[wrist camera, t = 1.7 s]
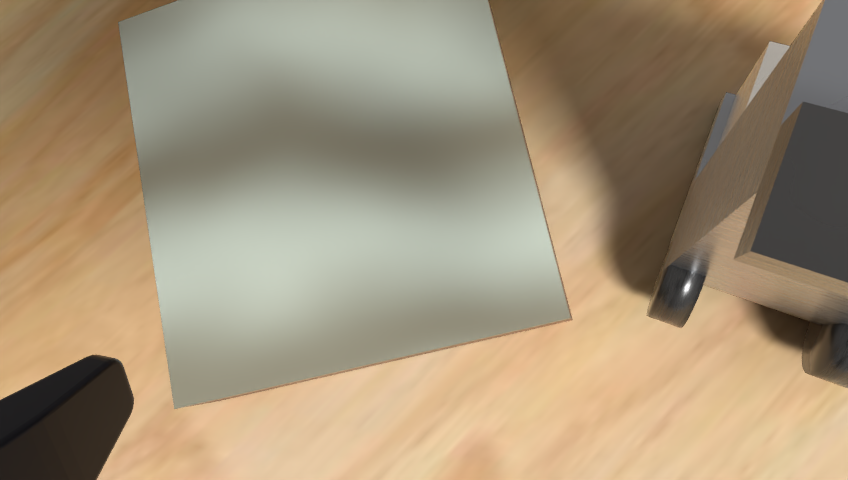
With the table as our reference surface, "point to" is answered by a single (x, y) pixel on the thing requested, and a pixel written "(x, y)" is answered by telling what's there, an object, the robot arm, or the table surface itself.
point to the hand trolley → (775, 196)
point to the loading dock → (331, 187)
